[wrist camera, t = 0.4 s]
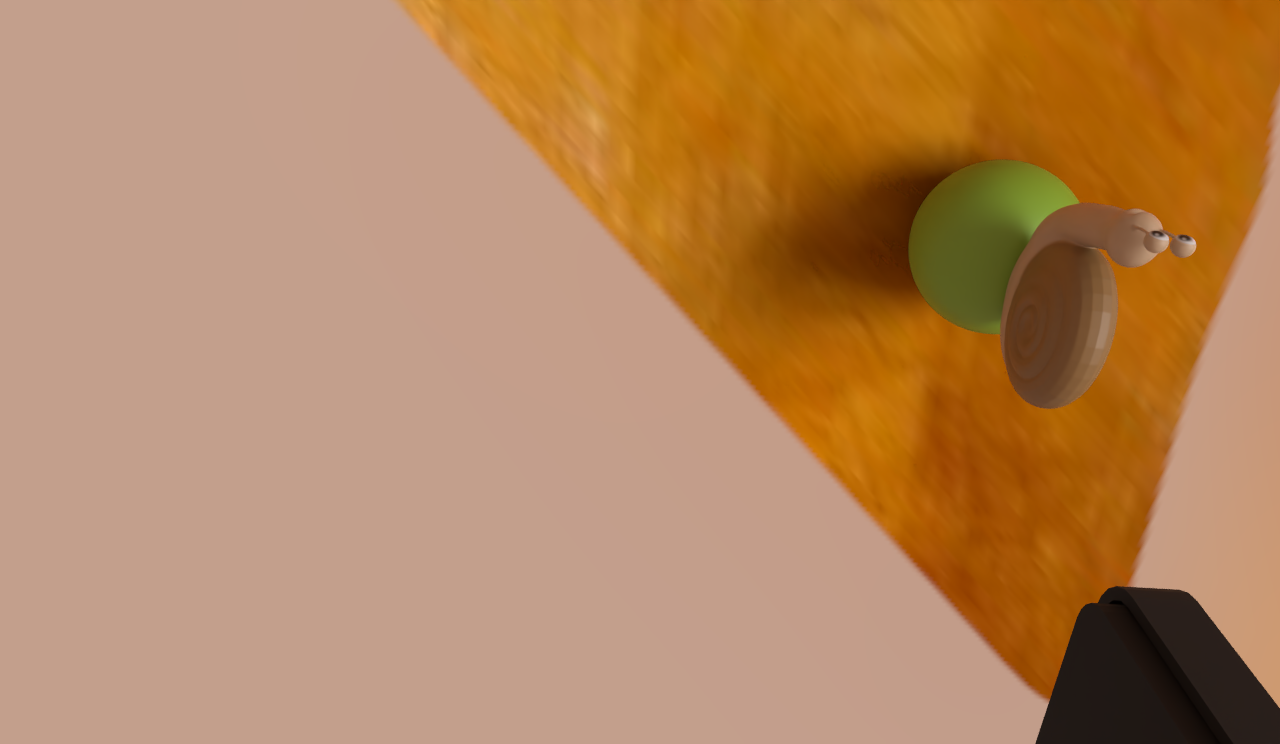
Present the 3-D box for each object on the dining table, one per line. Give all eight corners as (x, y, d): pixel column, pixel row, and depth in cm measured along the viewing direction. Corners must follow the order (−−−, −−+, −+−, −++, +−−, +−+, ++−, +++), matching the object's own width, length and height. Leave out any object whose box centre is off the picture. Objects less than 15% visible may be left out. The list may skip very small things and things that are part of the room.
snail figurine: (1084, 123, 36) (1291, 253, 26) (1022, 304, 39) (1184, 490, 28) (924, 97, 36) (1066, 217, 25) (872, 282, 39) (980, 463, 28)
